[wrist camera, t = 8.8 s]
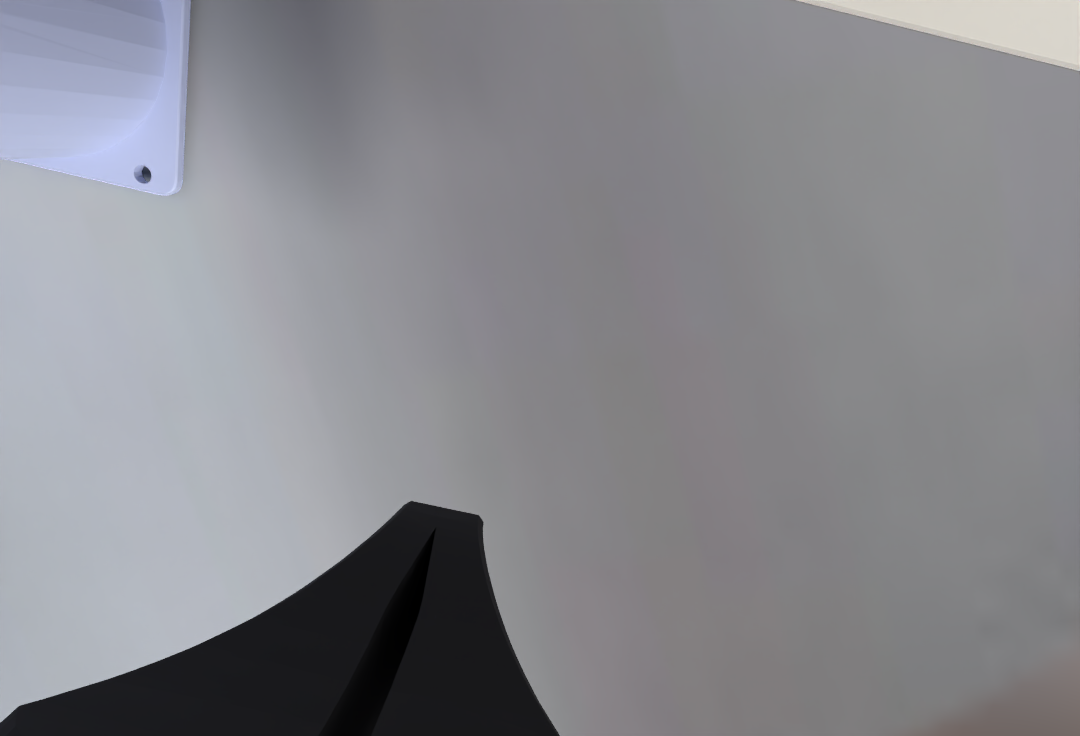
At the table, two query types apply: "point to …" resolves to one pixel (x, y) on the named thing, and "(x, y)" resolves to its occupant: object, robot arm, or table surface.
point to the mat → (984, 23)
